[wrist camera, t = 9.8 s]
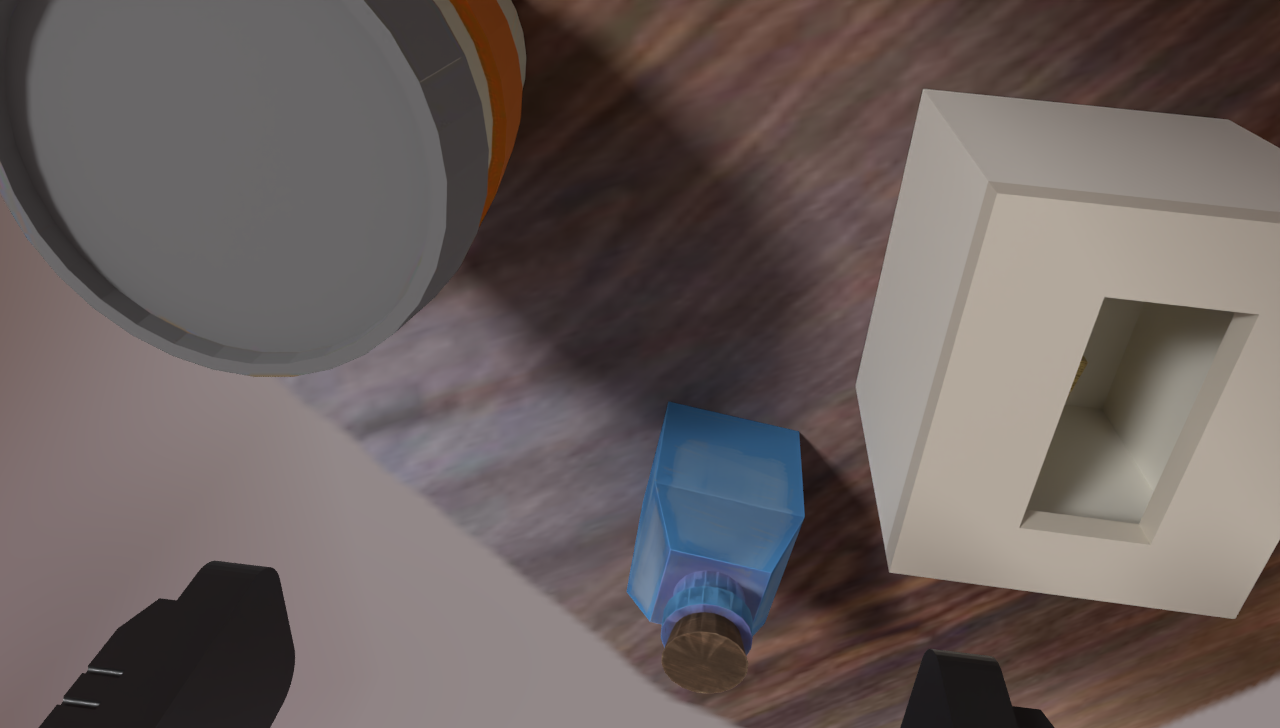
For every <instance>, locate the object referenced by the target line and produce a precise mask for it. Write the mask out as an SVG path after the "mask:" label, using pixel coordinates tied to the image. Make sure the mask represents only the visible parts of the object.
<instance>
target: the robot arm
mask: <svg viewBox="0 0 1280 728" xmlns="http://www.w3.org/2000/svg"><path fill="white" fill-rule="evenodd" d="M294 665H295V650H294V644H293V640H292V635H291V630H290V625H289V621H288V616H287V611H286V606H285V601H284V597H283V592H282V587H281V583H280V578H279V575H278V573H277V571H276V570H275V569H273V568H271V567H262V566H254V565H245V564H237V563H229V562H221V561H211V562H209V563H207V564H206V565H205V566H203V568H201V569H200V571H199V572H198V573H197V574H196V576H195V577H194V578H193V580H192V581H191V582H190V584H189V585H188V586H187V588H186V589H185V590H184V592H183V593H182V594H181V596H180V597H179V598H178V600H177V601H175V600H168V599H158V600H157V601H155V602H154V603H153V604H151V605H150V606H148V607H147V608H146V609H145V610H143V611H141V612H140V613H139V614H137V615H136V616H135V617H133V618H132V619H130V620H129V621H128V622H126V623H125V624H123V625H122V626H121V627H119V628H118V629H117V630H116V631H115V633H114V634H113V635H112V636H111V638H110V639H109V640H108V642H107V643H106V644H105V645H104V647H103V648H102V649H101V651H99V653H98V654H97V655H96V657H95V658H94V659H93V660H92V661H91V663H90V664H89V665H88V671H87V672H86V673H85V674H84V673H82V674H81V675H80V677H79V678H78V679H77V681H76V682H75V683H74V684H73V685H72V687H71V688H70V689H69V690H68V692H67V693H66V694H65V695H64V700H63V702H62V704H61V705H56V707H55V708H54V709H53V710H52V712H51V713H50V714H49V716H48V717H47V718H46V719H45V720H44V722H43V723H42V724H41V725H40V727H39V728H270V727H271V725H272V723H273V721H274V719H275V718H276V716H277V713H278V712H279V710H280V708H281V706H282V705H283V702H284V700H285V698H286V696H287V693H288V691H289V688H290V685H291V681H292V677H293V672H294ZM901 728H1054V727H1053V725H1052V724H1051V723H1050V721H1049V720H1048V719H1047V717H1046V716H1045V715H1044V714H1043V712H1042V711H1041V710H1039V709H1031V708H1023V707H1014V706H1012V704H1011V701H1010V698H1009V694H1008V691H1007V688H1006V684H1005V681H1004V678H1003V674H1002V671H1001V668H1000V666H999V664H998V662H997V661H996V659H995V658H993V657H991V656H984V655H976V654H968V653H959V652H951V651H943V650H934V649H928V650H927V651H926V652H925V654H924V656H923V658H922V661H921V664H920V668H919V671H918V674H917V677H916V680H915V683H914V687H913V690H912V693H911V696H910V699H909V702H908V706H907V709H906V712H905V715H904V718H903V721H902V724H901Z"/></svg>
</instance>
